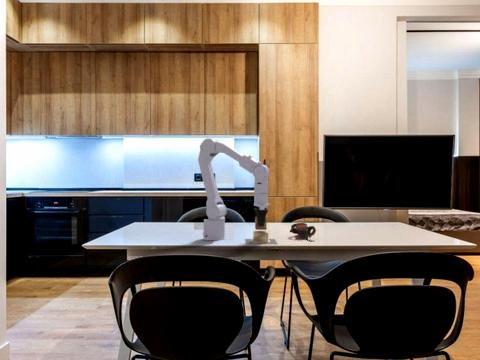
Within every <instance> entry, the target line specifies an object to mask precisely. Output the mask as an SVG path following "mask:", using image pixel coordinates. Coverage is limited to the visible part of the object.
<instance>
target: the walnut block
mask: <svg viewBox="0 0 480 360" xmlns="http://www.w3.org/2000/svg"><path fill="white" fill-rule="evenodd" d="M254 219H255V220H254V224H255V225H254V230H255V231H268V230H267V228H268V227H267V226H268V225H267V219H268V218H267V217H266V218H265V223H264V226H259V225H258V219H257V216H255V217H254Z"/></svg>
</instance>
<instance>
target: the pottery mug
mask: <svg viewBox="0 0 480 360" xmlns="http://www.w3.org/2000/svg"><path fill="white" fill-rule="evenodd" d="M316 232H317V229H316V227H315V226H314V225H310V226H308V224H307V223H306V222H297V223H293V224H292V225H291V226H290V229H289V233H291V234H294V238H295V240H306V241H309V239H310V238H312V236H314V235H315V234H316Z"/></svg>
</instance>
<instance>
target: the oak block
mask: <svg viewBox="0 0 480 360" xmlns="http://www.w3.org/2000/svg"><path fill="white" fill-rule="evenodd" d="M252 235H253V237H252V239H253V241H254V242H268V239H269V232H268V230H253V234H252Z"/></svg>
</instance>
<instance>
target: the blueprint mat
mask: <svg viewBox="0 0 480 360" xmlns="http://www.w3.org/2000/svg"><path fill="white" fill-rule="evenodd" d="M244 240H245V241H244V242H245V245H278V242H277V240H276V239H275V238H268V242H254V241H253V238H244Z"/></svg>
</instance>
